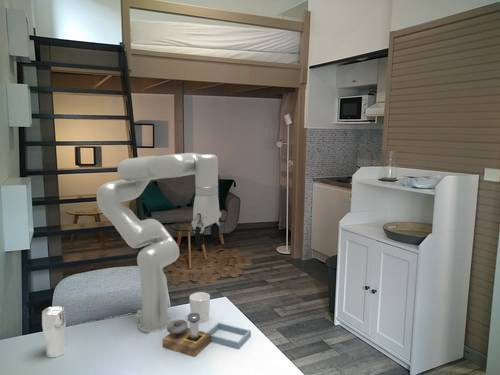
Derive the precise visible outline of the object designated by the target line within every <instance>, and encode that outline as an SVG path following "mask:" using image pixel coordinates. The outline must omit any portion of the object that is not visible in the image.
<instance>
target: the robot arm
mask: <svg viewBox="0 0 500 375" xmlns="http://www.w3.org/2000/svg"><path fill="white" fill-rule="evenodd" d="M218 161H219V160H218V156H217V155H216V154H213V153H207V154H206V153H202V154H200V153H197V152H196V153H195V152H185V153H183V152H181V153H174V154H167V155H158V156H157V155H147V156H139V157H132V158H126V159H124V160H122V161H120V163H119V164H118V165H117V173H118V176H119V177H120V180H119V179H118V180H113V181H108V182H106V183H103V184H101V185H100V186H99V187H98V188H97V191H96V203H97V206H98V208H99V210H100V211H101V213H102V214H103V215H104V217H106V218H107V219H108V221H109V222H110V223H112V225H113V226H114V227H115V229H116V231H117V232H118V233H119V234H120V236H121V238H122V239H123V240H124V241H125V243H126V244H127V245H128V246H129V247H131V248H132V249H139V248H142V247H143V248H142V249H141V250H139V252H138V254H137V257H136V261H137V262H136V263H137V266H138V271H139V276H140V277H139V278H140V291H141V292H140V293H141V294H140V295H141V309H138V310H137V312H136V314H135V316H134V317H135V318H137V319H139V323H138V326H137V327H138V331H141V332H142V333H144V334H150V333H151V332H152V333H155V332H156V333H157V332H161V331H164V330H167V324H168V323H169V322H170V321H173V320H172V318H171V317H169V312H168V311H169V309H168V308H169V307H168V306H169V305H168V302H169V301H168V280H167V276H166V274H165V273H164V270H163V268H165V267H167V266H168V265H171V264H173V263H174V262H176V261H177V260H178V259H179V257H180V247H179V245H178V243H177V242H176V240H175V239H174V238H173V237H172V235H171V234H170V233H169V232H168V230H167V229H166V228H165V226H164V225H163V224H162V223H161V222H160V221H159V220H156V219H154V218H146V219H143V220H140V219H139V218H138V217H137V215H135V213H134V212H133V211H132V210H131V208H129V207H128V206H126V205H123V203H124V202H127V201H132V200H136V199H137V198H139V197H140V196H141V195H142V193H143V192H144V190H145V189H146V187H147V186H148V184H149V183H150V182H151V180H153V181H154V180H159V179H171V178H181V177H185V176H192V175H194V178H195V197H194V201H193V208H192V210H193V213H192V214H193V215H192V216H193V217H192V220H191V227H192V230H193V233H194V238H195V239H194V240H195V241H194V242H195V245H199V246H204V245H205V233H204V230H205V228H206V227H208V226H210V237H211V238H216V239H217V238H220V227H221V226H220V225H221V223H220V222H221V220H222V211H220V202H219V201H220V200H219V162H218ZM144 246H145V247H144Z"/></svg>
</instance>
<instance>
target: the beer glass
mask: <svg viewBox="0 0 500 375" xmlns="http://www.w3.org/2000/svg"><path fill="white" fill-rule="evenodd" d="M41 313H42V314H41V326H42V331H43V334H44V338H45V342H46V352H45V356H46V357H47V358H52V359H53V358H57V357H61V356H63V355H64V354H66V352H67V347H66V342H65V336H66V334H65V333H66V327H67V320H66V319H67V318H66V313H65V307H64V306H62V305H54V306H49V307H46V308H44V310H42V312H41Z"/></svg>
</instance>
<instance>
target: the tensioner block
mask: <svg viewBox="0 0 500 375" xmlns="http://www.w3.org/2000/svg"><path fill="white" fill-rule="evenodd" d="M166 330H167V332H168V333H169V334H167V335H166V336H164V337H163V338H162V340H161V341H162V348H163V349H168V350H170V351H175V352H177V353H180V354H183V355H187V356H190V357H193V358H196V357H197V356H198V355H199V354H200V353H201V352H202V351H203V350H204V349H205V348H207V347H208V346H209V345H210V344H211V343H212V342H211V334H209V333H207V332H205V331H201V330H199V340H198V341H196V342H195V341H191V340H190V327H188V322H187V321H186V320H184V319H174V320H172V321H170V322H169V323H168V324H167V328H166Z"/></svg>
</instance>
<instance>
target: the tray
mask: <svg viewBox="0 0 500 375" xmlns="http://www.w3.org/2000/svg"><path fill="white" fill-rule="evenodd" d="M219 330H220V331H225V332H228V333H232V334H236V335H241V336H242V337H241V338H240V339H239V340H238V341H236V340H231V339H228V338H225V337H221V336H217V335H214V334H215V333H217V332H218V331H219ZM206 333H209V334H211V343H215V344H218V345H221V346H226V347H230V348H233V349H237V350H240V349H241V347H243V345H244V344H246V342H247V341H248V340H249V338H251V337H252V336H251V335H252V330H250V329H246V328H242V327H238V326H234V325H230V324H225V323H223V322H217V323H215V325H214V326H213V327H211V328H210V329H209V330H207V332H206Z"/></svg>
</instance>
